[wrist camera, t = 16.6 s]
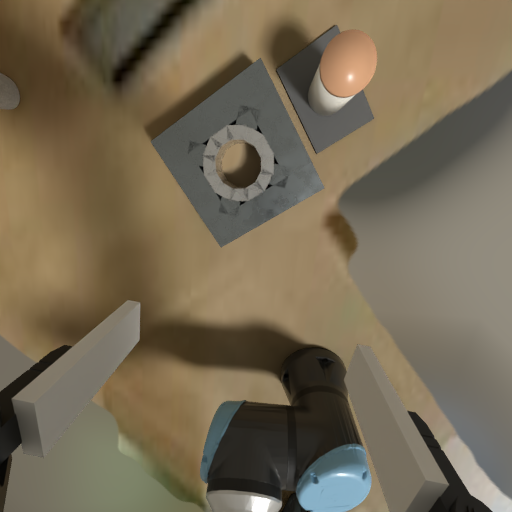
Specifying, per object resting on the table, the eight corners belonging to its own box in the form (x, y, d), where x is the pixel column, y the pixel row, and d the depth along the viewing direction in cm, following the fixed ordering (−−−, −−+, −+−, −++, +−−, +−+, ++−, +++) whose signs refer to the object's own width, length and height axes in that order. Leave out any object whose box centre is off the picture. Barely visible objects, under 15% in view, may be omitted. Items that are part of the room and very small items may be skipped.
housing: (318, 186, 42) (324, 188, 38) (226, 239, 47) (220, 247, 42) (262, 72, 37) (260, 57, 33) (164, 144, 42) (150, 141, 37)
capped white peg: (354, 101, 37) (385, 74, 27) (318, 125, 39) (334, 107, 28) (337, 61, 36) (363, 15, 25) (300, 87, 37) (311, 53, 27)
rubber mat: (373, 118, 38) (374, 118, 38) (316, 153, 41) (316, 153, 40) (336, 26, 35) (336, 24, 34) (276, 70, 37) (276, 69, 37)
